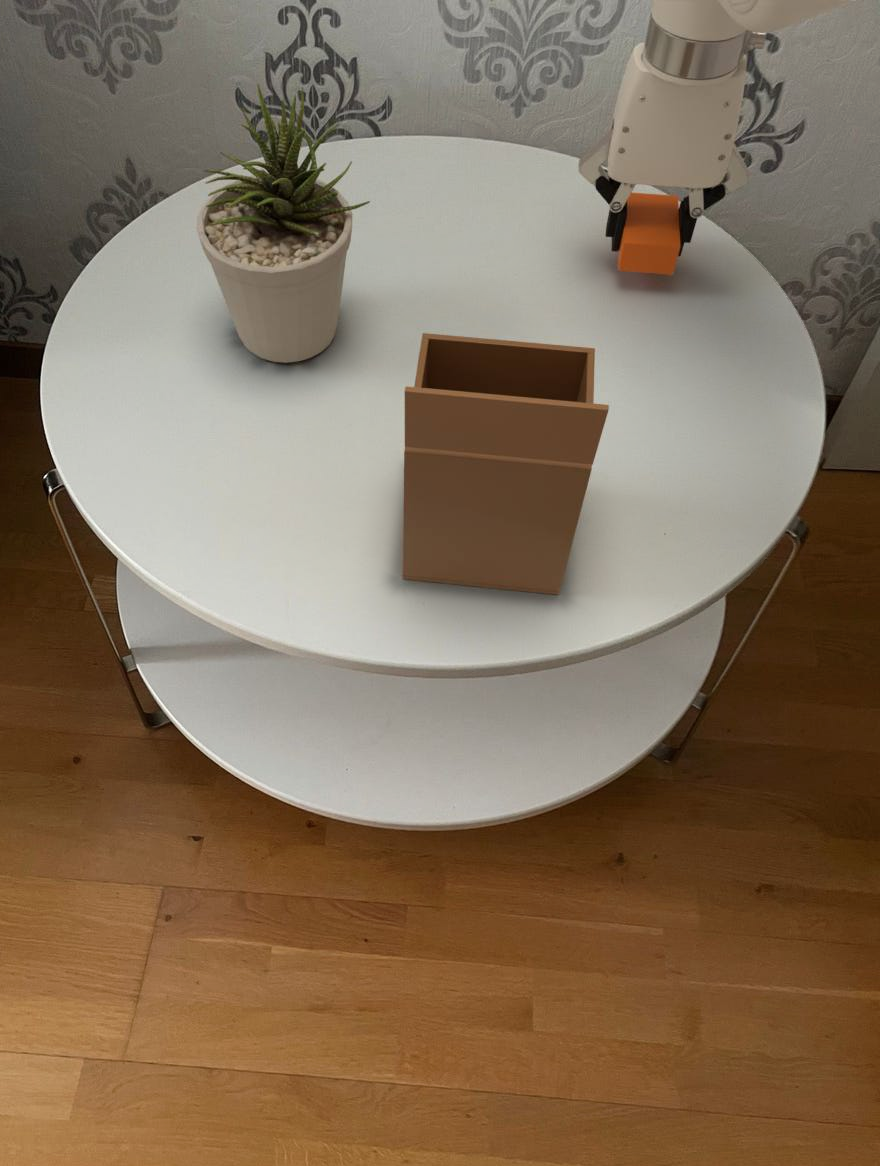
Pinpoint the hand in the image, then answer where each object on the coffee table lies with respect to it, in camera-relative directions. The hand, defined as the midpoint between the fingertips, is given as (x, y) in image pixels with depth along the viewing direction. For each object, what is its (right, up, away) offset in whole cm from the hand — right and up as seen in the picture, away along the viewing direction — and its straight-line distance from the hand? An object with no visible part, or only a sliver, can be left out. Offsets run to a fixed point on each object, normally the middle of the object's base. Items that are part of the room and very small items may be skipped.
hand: (645, 242), depth 92 cm
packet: (0, 0, 0) cm, 0 cm away
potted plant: (-33, -9, -2) cm, 34 cm away
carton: (-16, -28, -14) cm, 35 cm away
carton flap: (-17, -24, -32) cm, 43 cm away
